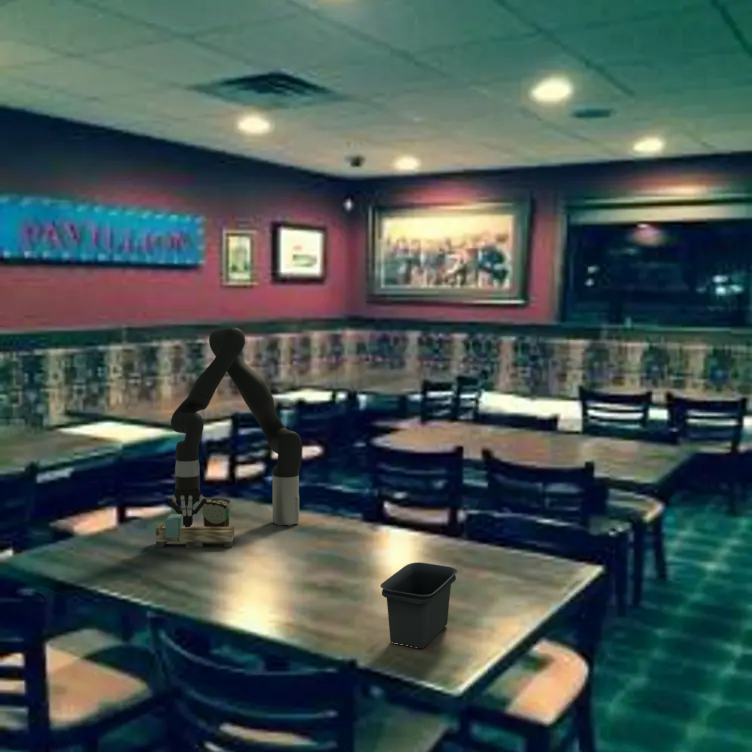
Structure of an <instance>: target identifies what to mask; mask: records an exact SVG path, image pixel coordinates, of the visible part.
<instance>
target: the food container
mask: <svg viewBox="0 0 752 752" xmlns="http://www.w3.org/2000/svg"><path fill="white" fill-rule="evenodd" d="M207 499H208V500H207V501H206V503H205V504H204V505H203V506H202V517H203V527H230V519H231V518H230V517H231V516H230V514H231V509H232V508H233V502H232V501H231V499H229V498H224V497H207Z"/></svg>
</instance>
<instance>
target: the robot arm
mask: <svg viewBox="0 0 752 752" xmlns="http://www.w3.org/2000/svg"><path fill="white" fill-rule="evenodd" d="M208 343H209V344H208V345H209V347H210V350H211V351H212V353H213V354H214V356H215V357H214V359H212V361H211V362H210V364H209V365H208V366H207V367H206V368H205V369H204V370H203V371H202V373H201V374H200V375H199V376H198V378H196V380H195V382H194V384H193V386H192V388H191V390H190V391H189V394H188V396H187V397H186V398H185V399H184V400H183V401H182V402H181V403H180V405H179V406H178V407H177V408H176V410H174V412H173V414H172V415H171V418H170V426H171V429H172V430H173V431H174V432H176V433H179V434H185V437H184V440H180V441H178V442H177V443H176V446H175V467H174V474H175V491H174V492H173V495H171V496H169V497H168V499H167V503H168V504H169V505H170V506H171V508H172V509H173V510H174V511H175V513H176V514H181V515H183V526H184V527H192V526H193V523H194V521H193V520H194V518H193V517H194V515H197V514H198V512H199V511H200V510H201V509H203V507H202V506H203V505H204V504H205V503H206V501H207V500H208V499H207V498H208V497H207V496H204V495H203V494H202V492H201V489H200V462H199V461H200V460H199V459H200V458H199V446H200V442H201V439H202V435H203V431H204V419H203V417H202V416H201V414H200V413H198V412H199V411H204V410H206V409H207V408H208V406H209V405H210V403H211V400H212V399H213V396H214V395H215V393H216V390H217V389H218V387H219V385H220V383H221V382H222V380H223V378H224V376H225V375H226V373H227V374H228V375H229V377H230V379H231V380H232V382H233V384H234V385H235V387H236V389H237V390H238V393H239V394H240V396H241V397H242V399H243V401H244V402H245V404H246V406H247V407H248V408H249V410H250V412H251V414H252V416H253V417H254V419H255V420H256V421H257V423H258V425H259V426H260V428H261V430H262V433H263V435H264V437H265V440H266V441H267V443H268V446H269V447H270V449H271V450H272V452H274V453H275V454H277V463H276V465H273V467H272V516H271V517H272V524H273V523H275V524H274V525H276V524H279V525H278V526H282V525H288V526H292V525H291V524H297V525H299V523H300V488H299V487H300V484H299V483H300V479H299V478H300V469H301V466H302V455H303V443H302V438H301V436H300V435H299V434H298V433H297V432H296V431H294V430H291V429H290V430H289V429H287V428H286V426H285V425H284V424H283V422H282V421H281V419H280V417H279V416H278V414H277V412H276V407H275V401H274V398H273V397H274V396H273V395H272V393H271V392H272V391H271V390H270V389H269V386H268V385H267V383H266V382H265V380H264V379H263V378H262V376H260V375H259V374H258V373H257V372H256V371H255V370H254V369H252V368H251V367H250V366H249V365H248V364H247V363H246V362H245V361H244V360H243V359H242V358H241V356H240V354H241V352H242V351H243V350H244V347H245V344H246V336H245V334H244V333H243V331H242V329H240V328H238V327H226V328H224V327H223V328H218V329H216V330H213V331H212V332H211V333H210V334H209V338H208ZM198 500H199V501H198ZM177 502H178V503H177ZM196 502H198V503H199V504H198V505H197V506H196V508H195V509H194V506H195V504H196ZM179 504H180V505H181V506H180V505H179ZM298 522H299V523H298Z"/></svg>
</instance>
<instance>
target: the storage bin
mask: <svg viewBox="0 0 752 752" xmlns="http://www.w3.org/2000/svg"><path fill="white" fill-rule="evenodd" d="M457 573H458V569H457V568H455V567H452V566H445V565H440V564H433V563H427V562H411V563H408V564H406V565H404V566H403V567H401V568H400V569H399V570H398V571H396V572H395V573H394V574H393V575H391V576H390V577H389V578H387V579H386V580H384V581H383V582H382V583H380V588H381V589H382V590H381V595H382V596H383V597H384V598H386V604H387V615H388V616H387V617H388V628H389V639H390V641H389V642H390V643H391V642H393V643H398V644H403V645H408V646H412V647H417V648H423V649H425V648H426V647H427V646H428V645H427V644H429V643H430V642H432V641H433V639H434V638H435V637H436V636H437V635H438V634H440V632H441V631H442V630H443V629H444V628H445V627H446V626H447V624H448V620H449V609H450V608H449V607H450V597H451V588H452V587H451V586H452V584H454V582H455V581H457V580H456V579H457V576H456V574H457ZM393 643H392V644H393ZM426 645H427V646H426ZM425 646H426V647H425ZM412 647H411V648H412ZM424 647H425V648H424ZM417 648H416V649H417Z"/></svg>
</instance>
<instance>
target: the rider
mask: <svg viewBox="0 0 752 752" xmlns="http://www.w3.org/2000/svg"><path fill="white" fill-rule="evenodd" d="M164 524H165V525H164V527H165V528H166V530H165V538H178V537H179V530H181V527H184V525H183V515H181V514H177V513H170V514H169V515H168V517H167V518H166V519H165V523H164Z"/></svg>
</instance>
